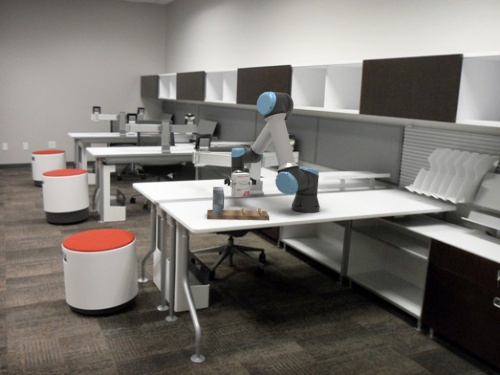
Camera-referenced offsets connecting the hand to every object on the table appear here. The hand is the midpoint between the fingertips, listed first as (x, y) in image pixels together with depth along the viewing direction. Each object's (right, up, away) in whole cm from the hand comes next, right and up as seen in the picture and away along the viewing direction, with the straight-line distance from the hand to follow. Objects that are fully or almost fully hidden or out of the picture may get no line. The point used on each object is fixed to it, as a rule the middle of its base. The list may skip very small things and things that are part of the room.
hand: (241, 184), depth 240 cm
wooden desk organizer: (-2, -16, -4) cm, 17 cm away
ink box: (0, -6, +6) cm, 8 cm away
